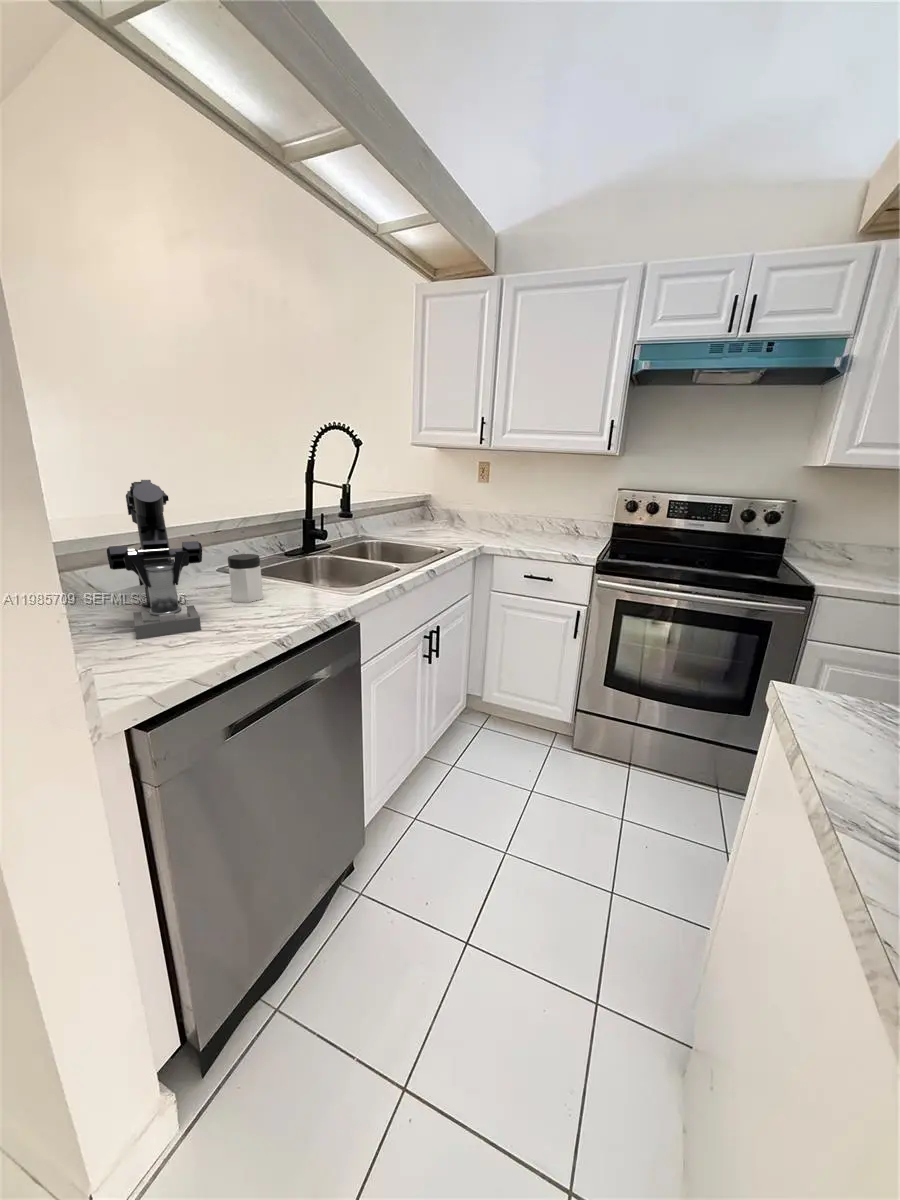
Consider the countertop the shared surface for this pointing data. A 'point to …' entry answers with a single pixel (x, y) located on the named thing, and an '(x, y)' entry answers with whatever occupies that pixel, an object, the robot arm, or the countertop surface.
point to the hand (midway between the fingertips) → (162, 585)
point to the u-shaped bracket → (167, 624)
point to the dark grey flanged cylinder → (162, 588)
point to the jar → (245, 577)
